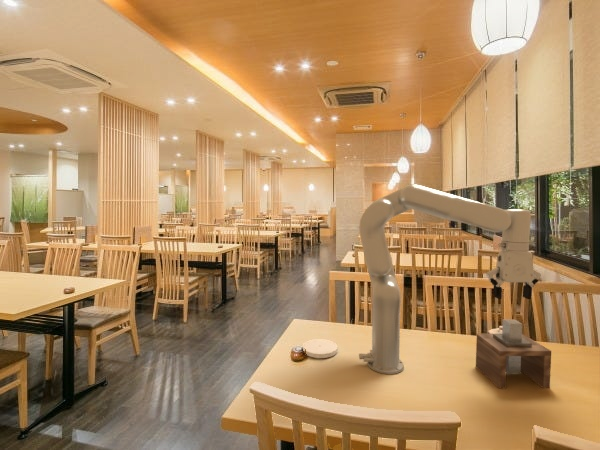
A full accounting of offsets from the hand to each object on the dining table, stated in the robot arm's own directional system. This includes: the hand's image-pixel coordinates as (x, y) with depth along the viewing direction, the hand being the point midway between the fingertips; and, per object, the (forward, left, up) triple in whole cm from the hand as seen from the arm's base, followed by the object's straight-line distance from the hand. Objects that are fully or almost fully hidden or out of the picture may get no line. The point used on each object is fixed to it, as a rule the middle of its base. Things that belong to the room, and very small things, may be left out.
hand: (512, 298), depth 111 cm
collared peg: (0, 0, -25) cm, 25 cm away
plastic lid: (-63, +20, -27) cm, 71 cm away
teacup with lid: (+6, +16, -27) cm, 32 cm away
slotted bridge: (0, 0, -27) cm, 27 cm away
